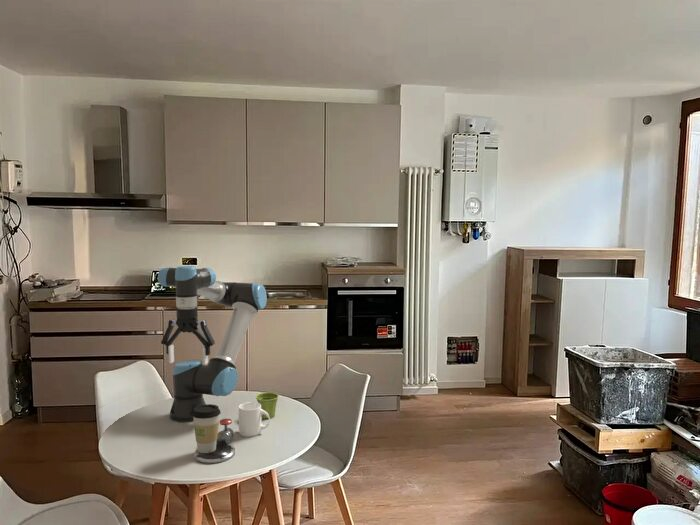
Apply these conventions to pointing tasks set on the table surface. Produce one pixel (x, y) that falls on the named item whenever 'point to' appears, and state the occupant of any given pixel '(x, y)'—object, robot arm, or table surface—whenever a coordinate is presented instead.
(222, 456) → the metal device with knob
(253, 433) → the mug
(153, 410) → the table surface
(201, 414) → the coffee cup
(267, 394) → the plant pot
